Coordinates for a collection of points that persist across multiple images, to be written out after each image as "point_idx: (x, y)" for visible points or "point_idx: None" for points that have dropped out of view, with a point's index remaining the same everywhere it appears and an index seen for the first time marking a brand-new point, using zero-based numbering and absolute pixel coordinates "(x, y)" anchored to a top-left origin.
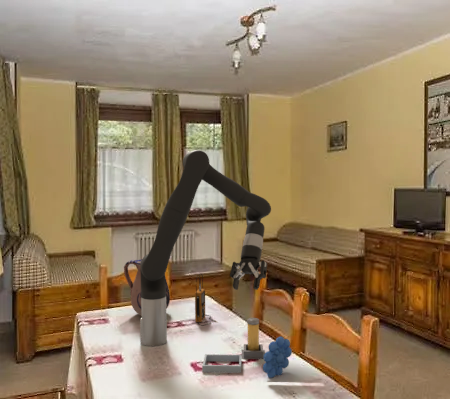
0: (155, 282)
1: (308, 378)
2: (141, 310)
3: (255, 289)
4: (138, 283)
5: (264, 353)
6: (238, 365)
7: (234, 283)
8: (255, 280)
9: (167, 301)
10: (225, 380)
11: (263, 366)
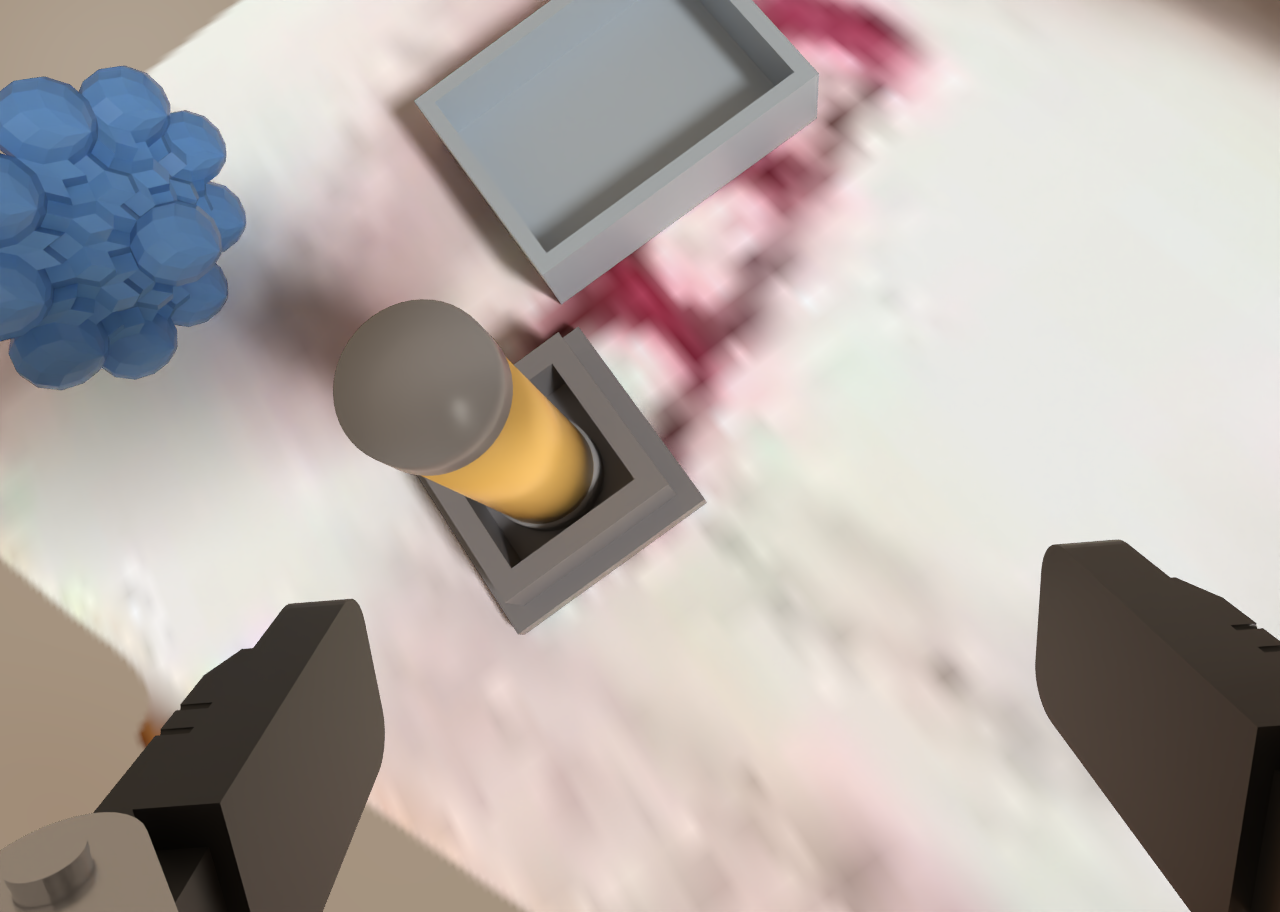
0: None
1: (25, 407)
2: None
3: (368, 698)
4: None
5: (472, 554)
6: (436, 97)
7: (1168, 597)
8: (210, 741)
9: None
10: (486, 15)
11: (197, 114)
